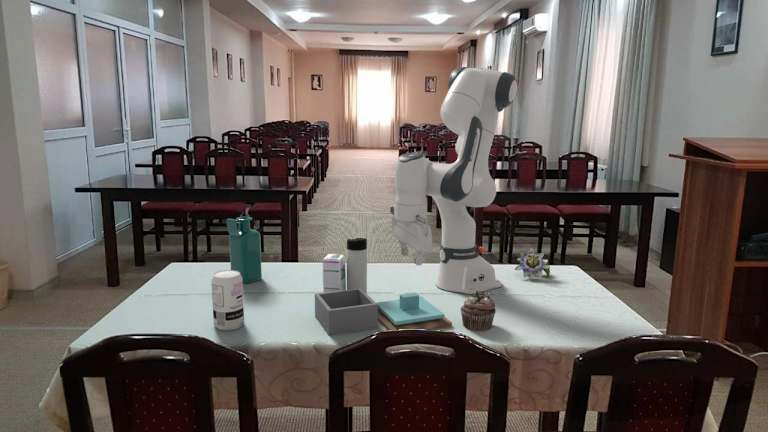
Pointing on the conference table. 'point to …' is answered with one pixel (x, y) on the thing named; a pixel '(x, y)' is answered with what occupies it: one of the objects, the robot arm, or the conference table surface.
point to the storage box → (345, 311)
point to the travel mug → (357, 264)
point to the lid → (409, 309)
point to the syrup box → (334, 273)
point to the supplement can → (227, 300)
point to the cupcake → (478, 312)
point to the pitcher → (244, 249)
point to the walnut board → (416, 325)
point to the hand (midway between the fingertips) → (411, 259)
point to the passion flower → (532, 264)
